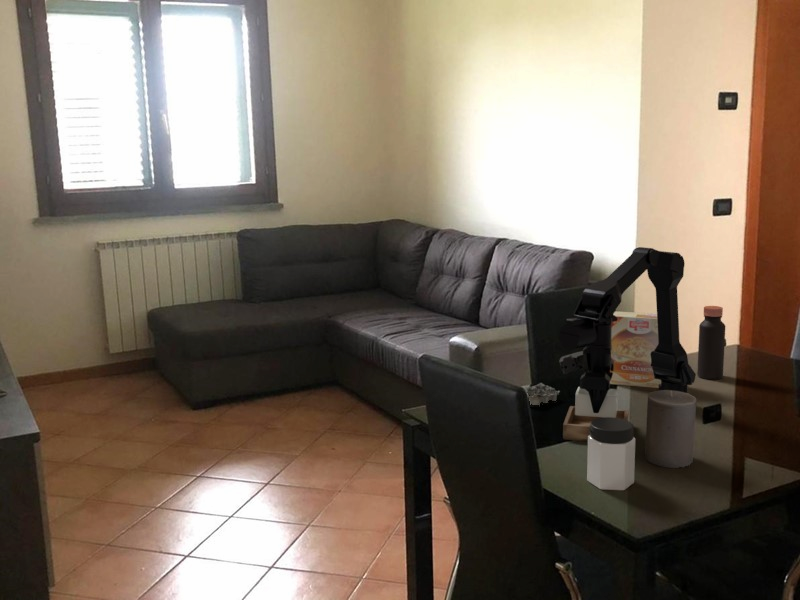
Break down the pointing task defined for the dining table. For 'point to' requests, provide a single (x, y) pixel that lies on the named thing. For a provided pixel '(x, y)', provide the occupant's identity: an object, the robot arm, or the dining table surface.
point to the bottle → (711, 344)
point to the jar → (611, 454)
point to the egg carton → (541, 394)
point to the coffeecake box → (634, 349)
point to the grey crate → (585, 406)
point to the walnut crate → (582, 424)
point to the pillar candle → (670, 428)
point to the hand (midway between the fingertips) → (597, 408)
